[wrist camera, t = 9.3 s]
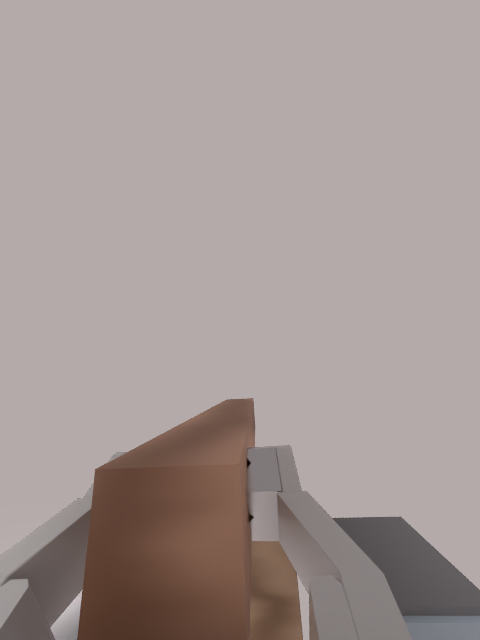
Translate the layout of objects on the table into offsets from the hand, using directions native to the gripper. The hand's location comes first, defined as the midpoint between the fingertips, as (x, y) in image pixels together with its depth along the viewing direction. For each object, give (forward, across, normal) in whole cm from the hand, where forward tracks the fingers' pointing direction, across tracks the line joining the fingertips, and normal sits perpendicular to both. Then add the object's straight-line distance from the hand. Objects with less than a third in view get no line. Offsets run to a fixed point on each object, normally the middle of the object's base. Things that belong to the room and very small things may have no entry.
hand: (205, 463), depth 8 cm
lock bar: (+5, 0, +5) cm, 7 cm away
